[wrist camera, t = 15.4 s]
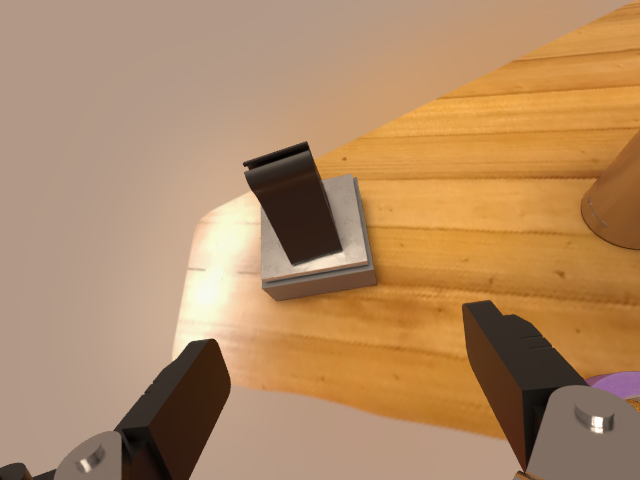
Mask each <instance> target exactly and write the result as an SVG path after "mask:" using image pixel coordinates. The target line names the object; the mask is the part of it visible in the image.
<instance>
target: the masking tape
mask: <svg viewBox="0 0 640 480" xmlns="http://www.w3.org/2000/svg"><path fill="white" fill-rule="evenodd" d="M585 381H586V382H587V383H588V385H589V386H590V387H594V388H598V389H601V390H605V391H607V392H610V393H612V394H614V395H616V396H618V397H620V398H622V399H623V400H627V399H631V400H635V401H638V402H640V372H637V371H629V372H620V373H613V374H606V375H600V376H595V377H591V378H588V379H586V380H585Z"/></svg>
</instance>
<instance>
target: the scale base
mask: <svg viewBox="0 0 640 480" xmlns="http://www.w3.org/2000/svg"><path fill="white" fill-rule="evenodd" d="M353 182H354V187H355V193H356V199H357V204H358V210H359V215H360V221H361V227H362V232H363V238H364V243H365V249H366V255H367V260H368V265H362V266H356V267H351V268H345V269H339V270H333V271H328V272H322V273H316V274H310V275H305V276H299V277H293V278H287V279H282V280H276V281H270V282H264V281H263V280H262V289H263V290H264V291H265V292H267V293H268V294H269V295H270V296H271V297H272V298H273V299H275V300H276V301H281V300H287V299H293V298H299V297H305V296H311V295H317V294H323V293H329V292H335V291H342V290H348V289H354V288H360V287H366V286H372V285H377V282H376V276H375V271H374V266H373V260H372V255H371V250H370V244H369V239H368V234H367V228H366V223H365V217H364V212H363V207H362V201H361V196H360V191H359V186H358V181H357V177H355V178H353Z"/></svg>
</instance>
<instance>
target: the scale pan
mask: <svg viewBox="0 0 640 480" xmlns="http://www.w3.org/2000/svg"><path fill="white" fill-rule="evenodd" d="M322 182H323V184H324V187H325V190H326V194H327V197H328V200H329V204H330V207H331V211H332V214H333V218H334V221H335V225H336V228H337V232H338V235H339V239H340V242H341V245H342V249H343V250H339V251H336V252H333V253H329V254H326V255H323V256H320V257H316V258H313V259H310V260H306V261H303V262H300V263H296V264H293V265H291V263H290V261H289V259H288V257H287V255H286V253H285V251H284V249H283V247H282V245H281V243H280V241H279V239H278V237H277V235H276V233H275V232H274V230H273V228H272V226H271V224H270V222H269V220H268V218H267V216H266V214H265V212H264V210H263V208H262V206H261V280H263V281H264V282H270V281H276V280H282V279H287V278H293V277H299V276H305V275H310V274H316V273H322V272H328V271H333V270H339V269H345V268H351V267H356V266H362V265H368V260H367V255H366V249H365V243H364V238H363V232H362V227H361V221H360V215H359V210H358V204H357V199H356V193H355V187H354V182H353V177H352V174H348V175H343V176H339V177H334V178H329V179H325V180H322Z"/></svg>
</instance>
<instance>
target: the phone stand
mask: <svg viewBox="0 0 640 480" xmlns="http://www.w3.org/2000/svg"><path fill="white" fill-rule="evenodd" d="M243 165H244V167H246V166H247V167H248V168H249V171H246V172H244V174H245V177H246V180H247V182H248V184H249V186H250V188H251V190H252V192H253V193H254V194H255V195H256V197H257V198H258V200H259V202H260V204H261V206H262V208H263V210H264V212H265V214H266V216H267V218H268V220H269V222H270V224H271V226H272V228H273V230H274V232H275V233H276V235H277V237H278V239H279V241H280V243H281V245H282V247H283V249H284V251H285V253H286V255H287V257H288V259H289V261H290V263H291V265H293V264H296V263H300V262H303V261H306V260H310V259H313V258H316V257H320V256H323V255H326V254H329V253H333V252H336V251H339V250H343V249H342V245H341V242H340V239H339V235H338V232H337V228H336V225H335V221H334V218H333V214H332V211H331V207H330V204H329V200H328V197H327V194H326V190H325V187H324V184H323V182H322V179H321V177H320V174H319V172H318V169H317V167H316V164H315V162H314V159H313V157H312V154H311V151H310V149H309V145H308V143H307V141H306V142H303V143H300V144H297V145H294V146H291V147H288V148H285V149H282V150H279V151H276V152H273V153H270V154H267V155H264V156H261V157H258V158H255V159H252V160H249V161H246V162H244V163H243Z"/></svg>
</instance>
